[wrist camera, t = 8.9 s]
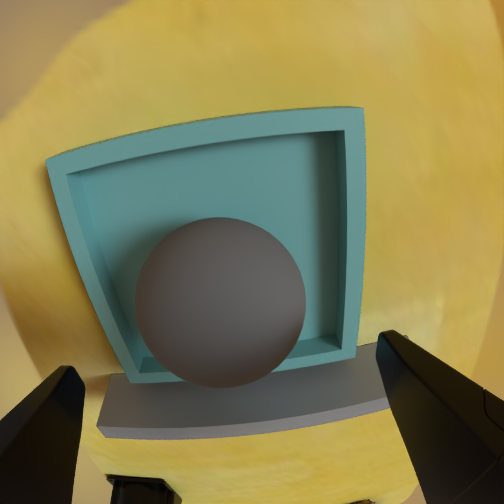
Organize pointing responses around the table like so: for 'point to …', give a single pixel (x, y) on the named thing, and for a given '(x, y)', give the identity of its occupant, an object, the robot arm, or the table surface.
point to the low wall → (244, 402)
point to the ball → (220, 302)
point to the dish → (223, 214)
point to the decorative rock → (365, 502)
